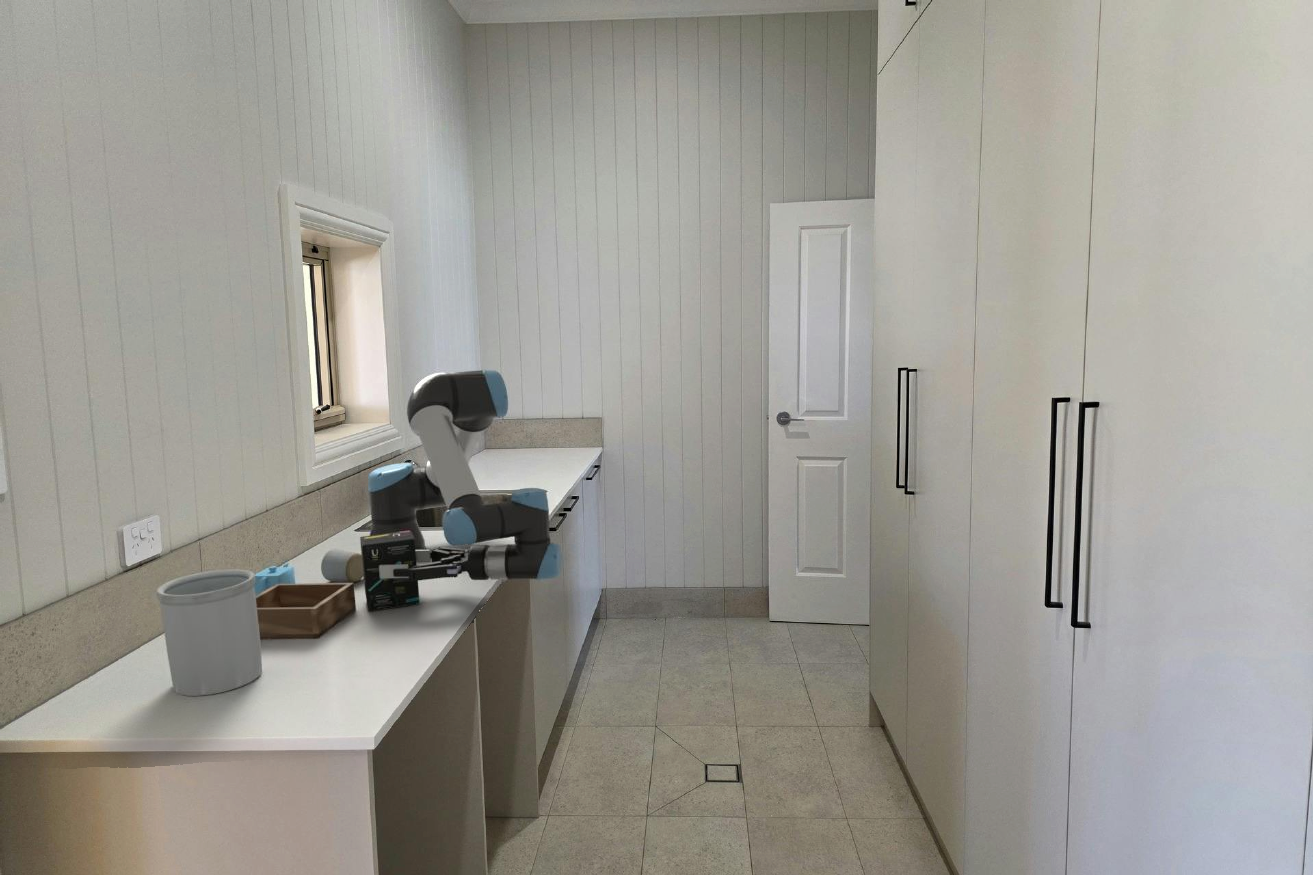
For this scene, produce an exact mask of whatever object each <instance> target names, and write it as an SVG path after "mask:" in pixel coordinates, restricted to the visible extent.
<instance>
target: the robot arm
mask: <svg viewBox="0 0 1313 875" xmlns="http://www.w3.org/2000/svg"><path fill="white" fill-rule="evenodd" d="M407 401H408V402H407V408H406V415H407V421H408V424H409V426H410V429H411V431H412V433H414V434H415V435H416V436H418V437H419V440H420V441H421V444H422V446H423V450H424V452H425V455H426V457H427V460H428V461H427V463H426V465H424V466H418V467H414V466H413V464H412V463H410V462H401V463H392V464H388V465H385V466H382V467H378V468H376V469H374V470H372V471H371V472H370V473H369V475H368V490H367V491H368V492H369V493H368V495H369V507H370V508H369V509H370V518H371V528H370V532H369V535H368V536H372V535H380V534H387V533H395V532H403V531H411V532H412V534H413V536H414V539H415V551H416V563H417V565H415V566H412V564H411V563H408V564H406V565H380V566H379V573H380V578H409V581H411V582H412V581H418V582H419V581H427V580H433V579H434V580H436V579H443V578H457V577H459V574H462V573H464V572H465V573H466V572H467V574H468V577H469V578H470V579H471V580H472V581H488V580H489V579H490V580H493V581H494V580H501V582H503V583H505V582H506V581H507V580H537V581H539V580H548V579H556V578H558V577H559V576H560V575H561V572H562V566H563V552H562V547H561V546H560V544H558V543H554V542H551V536H550V514H549V513H550V511H549V510H550V509H549V500H548V495H547V492H546V490H544V489H543V488H540V487H539V488H538V487H524V488H519V489H515V490H513V491H512V493H511V498H510V500H508V501H501V502H496V503H495V502H494V503H487V504H486V503H485V500H484V498H483V496H482V493H481V492H480V488H479V487H478V484H477V482H476V480H475V477H474V474H473V472H472V470H471V467H470V465H469V463H470V460H471V458H472V455H473V453H474V450H475V447H476V445H477V443H478V442H479V438H480V436H481V434H482V432H483V431H486V430H487V429H488V428H489V427H490V426H491V425H492V423H493V420H494V419H496V418H497V419H501V418H503V417H506V415H507V414H508V411H509V410H508V409H509V397H508V392H507V385H506V382H505V380H504V378H503V375H501V373H500V372H498V371H496V370H492V369H491V370H489V369H488V370H487V369H486V370H485V369H482V370H467V371H453V372H436V373H432V374H431V375H428V376H425V377H424V378H423V379H421V380H420V381H419V382H418V383H417V385H416V386H415V387H414V388H413V390H412V392H411V394H410V396H409V398H408V400H407ZM441 507H446V508H447V510H445V511H444V513H443V515H442V519H441V520H442V521H441V522H442V523H441V524H442V530H443V536H444V539H445V541H446V542H447V544H449V545H450V546H454V547H445V546H437V547H436V548H432V549H426V542H425V538H424V535H423V533H422V530H421V528H420V526H419V524H418V521H417V511H420V510H427V509H433V508H441ZM507 538H513V541H514V543H513V544H510V543H509V544H508V543H506V544H505V543H504V544H503V543H501V544H500V543H498V544H495V543H494V544H490V545H488V544H477V543H483V542H488V541H495V540H502V539H507ZM464 545H465V546H466V545H471V546H470V548H458V547H457V546H464ZM418 563H423V564H418Z"/></svg>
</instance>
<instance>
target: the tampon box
mask: <svg viewBox="0 0 1313 875" xmlns="http://www.w3.org/2000/svg"><path fill="white" fill-rule="evenodd" d="M359 541H360V542H359V543H360V554H361V555H362V566H363V578H362V579H363V584H364V585H363V586H364V592H365V600H366V605H367V606H366V607H367V612H369V613H370V612H371V613H372V612H377V611H383V610H388V609H394V608H401V607H407V606H414V605H418V604H419V605H420V593H419V592H420V591H419V590H420V589H419V581H412V582H411V581H409V578H380V573H379V566H380V565H406V564H408V563H411V564H412V566H415V565H418V563H416V551H415V539H414V536H413V534H412V532H411V531H403V532H395V533H387V534H380V535H372V536H369V535H366V536H360V538H359Z"/></svg>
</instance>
